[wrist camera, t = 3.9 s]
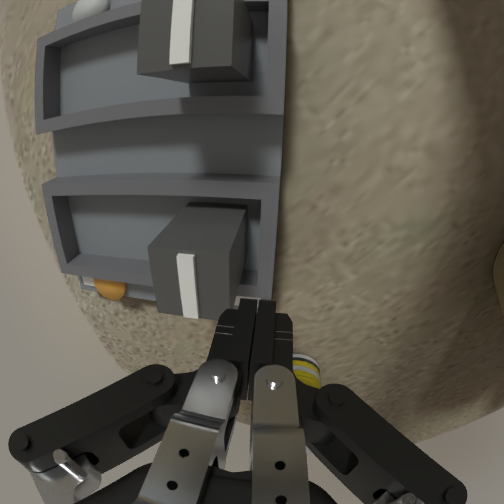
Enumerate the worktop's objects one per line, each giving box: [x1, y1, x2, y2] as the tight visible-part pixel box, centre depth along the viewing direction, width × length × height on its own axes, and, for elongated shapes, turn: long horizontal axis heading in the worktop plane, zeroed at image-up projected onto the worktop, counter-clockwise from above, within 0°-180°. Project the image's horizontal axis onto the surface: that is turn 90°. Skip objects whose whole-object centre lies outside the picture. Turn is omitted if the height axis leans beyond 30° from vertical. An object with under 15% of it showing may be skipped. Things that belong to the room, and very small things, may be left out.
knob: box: [137, 0, 254, 84], centre depth 12 cm, size 4×4×7 cm
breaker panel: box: [35, 0, 288, 311], centre depth 18 cm, size 18×26×4 cm
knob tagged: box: [147, 202, 248, 320], centre depth 17 cm, size 4×4×7 cm
